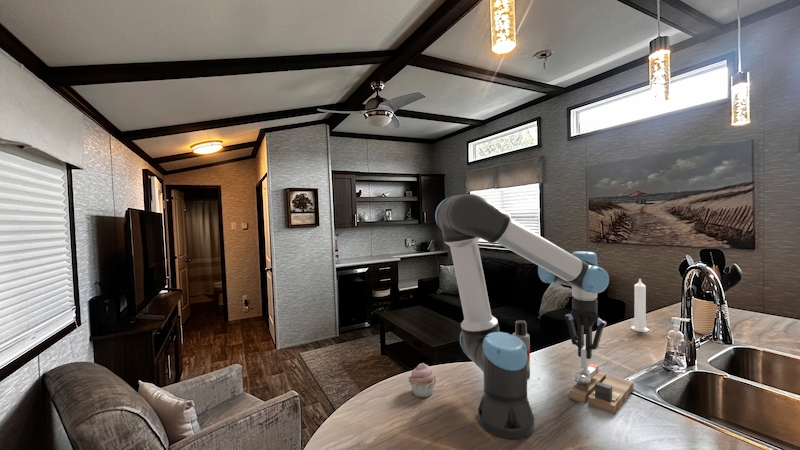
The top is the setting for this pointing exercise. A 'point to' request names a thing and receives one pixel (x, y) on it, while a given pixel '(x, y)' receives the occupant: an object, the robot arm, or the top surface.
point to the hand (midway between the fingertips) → (584, 367)
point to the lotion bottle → (523, 339)
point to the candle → (640, 308)
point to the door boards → (603, 392)
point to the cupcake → (422, 381)
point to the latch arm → (586, 374)
